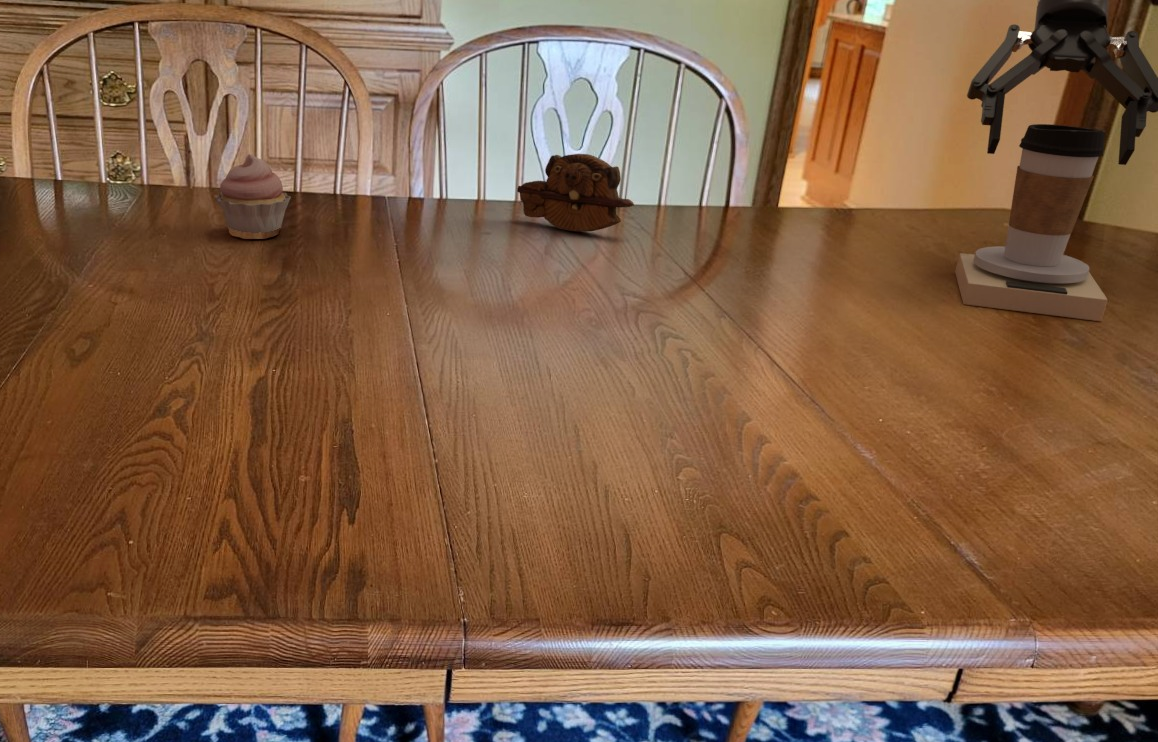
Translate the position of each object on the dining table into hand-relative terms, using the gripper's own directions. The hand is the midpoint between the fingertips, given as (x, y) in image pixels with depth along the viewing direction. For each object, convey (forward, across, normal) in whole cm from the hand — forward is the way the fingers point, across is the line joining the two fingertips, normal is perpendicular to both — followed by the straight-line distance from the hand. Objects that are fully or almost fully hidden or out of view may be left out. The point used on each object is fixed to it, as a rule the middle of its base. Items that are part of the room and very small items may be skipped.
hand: (1058, 152), depth 123 cm
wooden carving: (+10, +55, -13) cm, 58 cm away
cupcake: (+24, +92, +2) cm, 95 cm away
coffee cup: (+10, 0, -7) cm, 12 cm away
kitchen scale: (+14, 0, -9) cm, 16 cm away
